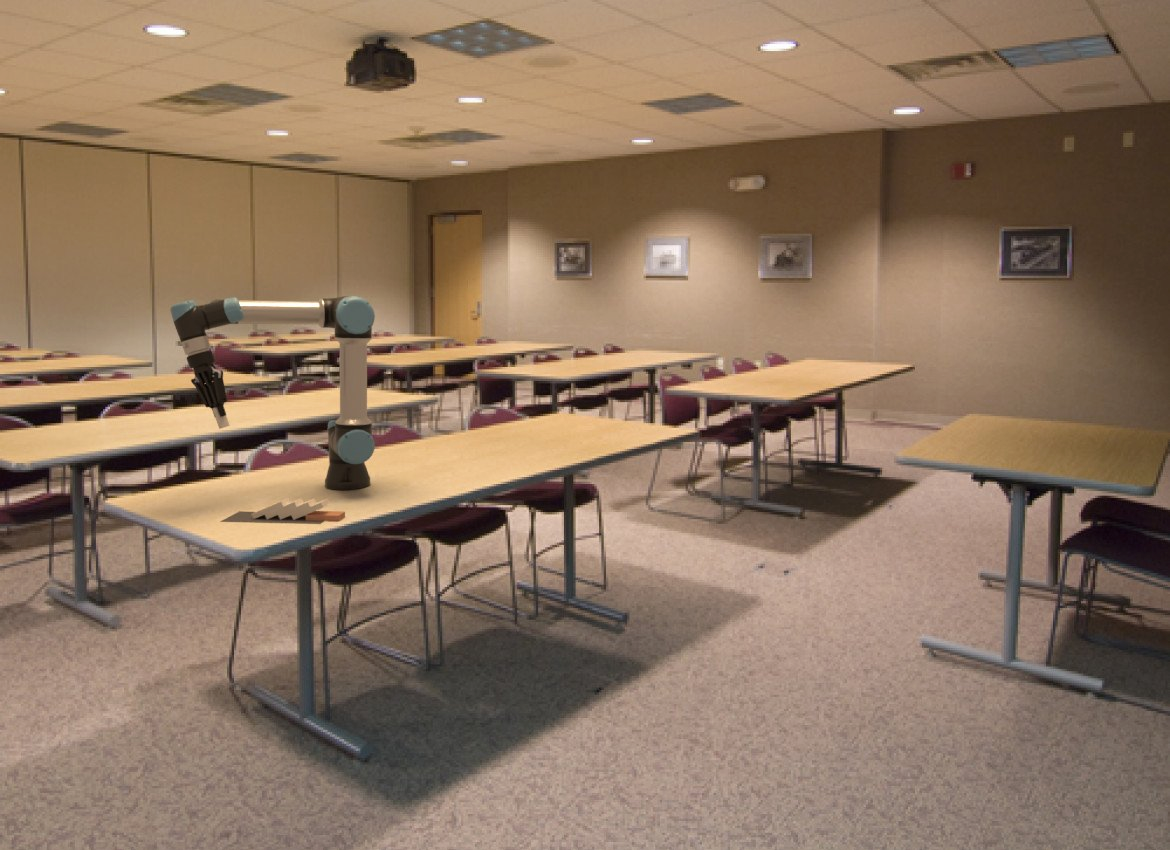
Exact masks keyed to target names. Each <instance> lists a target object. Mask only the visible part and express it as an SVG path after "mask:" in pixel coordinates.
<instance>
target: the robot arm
mask: <svg viewBox="0 0 1170 850" xmlns="http://www.w3.org/2000/svg"><path fill="white" fill-rule="evenodd" d="M169 311H170V314H171V317H172V321H173V324H174V327H175V330H176V332H177V335H178V337H179V341H180V343H181V346H182V349H183V351H184V352H183V353H184V354H185V356H186V355H187V356H186V361H187V364H188V366H189V367H188V368H190V369H193V373H194V377H193V378H191V379H190V382H191V383H192V385H193V386H194V387H195V389H196V391H197V392H198V395H199V398H200V399H201V401H202V402H203V404H204V406H205V408H210V409H211V410H212V413H213V417H214V419H215V420H216V423H217V426H218V429H219V430H220V429H224V428H227V427H230V422H229V420H228V417H227V412H226V409H225V406H224V405H225V403H227V401H228V398H227V393H226V388H225V382H224V371H223V370H218V369H217V368H216V366H215V364H214V363H215V362H216V359H215V356H214V352H213V351H212V350H210V349H211V348H212V346H211V343H210V340H209V338H208V335H207V332H206V331H209V330H211V329H212V330H213V329H216V328H220V327H223V326H228V325H312V326H313V325H314V326H315V325H318V326H319V327H320V328H321V329H322V328H323V329H325V328H327V329H328V328H329V329H334V339H335V340H336V341H337V342H338V343H339V417H338V418H337V419H336V420H335V419H334V420H329V421H328V422H327V429H326V430H327V438H328V457H329V458H328V460H329V461H328V463H329V465H328V469H327V472H326V477H325V479H324V487H325V489H326V488H327V489H330V490H336V491H338V490H339V491H343V490H344V491H345V490H346V491H348V490H357V489H363V488H366V487H369V486H370V485H371V477H370V475H369V471H368V468H367V466H366V463H365V462H367V461H368V460H369V459H371V458H372V456H373V454H374V452H375V449H376V446H375V445H376V444H375V439H374V437H373V433H372V432H373V427H372V426H373V424H372V423H373V422H372V420H371V419H370V418H368V417H369V416H368V343H370V341H371V340H372V339H373V336H372V335H373V334H372V333H373V331H372V330H373V328H372V327H373V325H374V322H375V320H376V319H375V318H376V315H375V310H374V307H373V306H372V304H371V303H370V302H369V301H368V300H366V299H365V298H363V297H361V296H360V295H359V296H358V295H357V296H356V295H352V296H351V295H344V296H339V297H331V298H330V297H329V298H322V297H321V298H320V299H319V300H317V301H311V300H310V301H307V300H306V301H305V300H304V301H303V300H244V299H242V300H239V299H238V298H237V297H234V296H233V297H227V298H223V299H213V300H212V301H210V302H209V303H206V304H199V305H198V304H197V303H196V301H194V300H187V301H182V302H179V303H175V304H173V305H171V306H170V309H169Z"/></svg>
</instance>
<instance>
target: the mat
mask: <svg viewBox="0 0 1170 850" xmlns="http://www.w3.org/2000/svg"><path fill="white" fill-rule="evenodd" d="M255 512H256V511H242V510H241V511H238V512H235V513H234V514H232V515H230V516H228V517H226V518H224V519H222V520H220V521H219V522H220V523H253V524H254V523H256V524H257V523H258V524H259V523H260V524H294V525H296V524H298V525H299V524H302V525H303V524H304V525H305V524H306V525H308V524H309V525H321V524H323V523H324V522H325V521H312V520H306V515H304V516H302V517H300V518H297V519H295V520H293V518H292V516H291V515H290V516H288V517H286V518H283V519H281V520H280V518H279V516H278V515H276V516H274V517H272V518H269V519H266V516H265V515H262V516H260V517H258V518H255V519H253V516H252V514H253V513H255Z"/></svg>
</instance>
